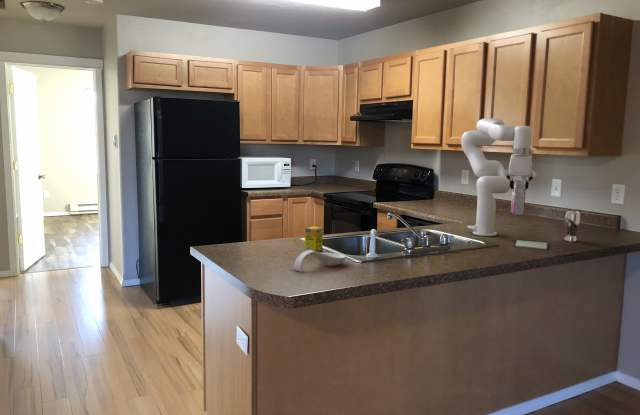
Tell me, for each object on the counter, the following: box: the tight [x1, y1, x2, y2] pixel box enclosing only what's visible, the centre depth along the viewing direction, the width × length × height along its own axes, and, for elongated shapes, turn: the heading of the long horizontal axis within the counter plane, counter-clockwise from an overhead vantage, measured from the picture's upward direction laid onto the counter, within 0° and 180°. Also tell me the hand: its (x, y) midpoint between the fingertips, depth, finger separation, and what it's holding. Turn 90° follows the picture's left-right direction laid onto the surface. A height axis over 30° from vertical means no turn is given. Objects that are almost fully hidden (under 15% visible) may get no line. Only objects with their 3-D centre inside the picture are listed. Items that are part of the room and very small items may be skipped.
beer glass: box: [563, 210, 581, 243], centre depth 262 cm, size 7×7×15 cm
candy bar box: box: [510, 178, 527, 216], centre depth 247 cm, size 11×5×16 cm, turn 167°
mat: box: [514, 239, 548, 250], centre depth 251 cm, size 14×14×1 cm
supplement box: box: [304, 225, 324, 253], centre depth 227 cm, size 6×6×11 cm
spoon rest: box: [293, 250, 347, 273], centre depth 202 cm, size 24×12×7 cm, turn 133°
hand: (518, 189), depth 247 cm, fingers closed on candy bar box, 5 cm apart
